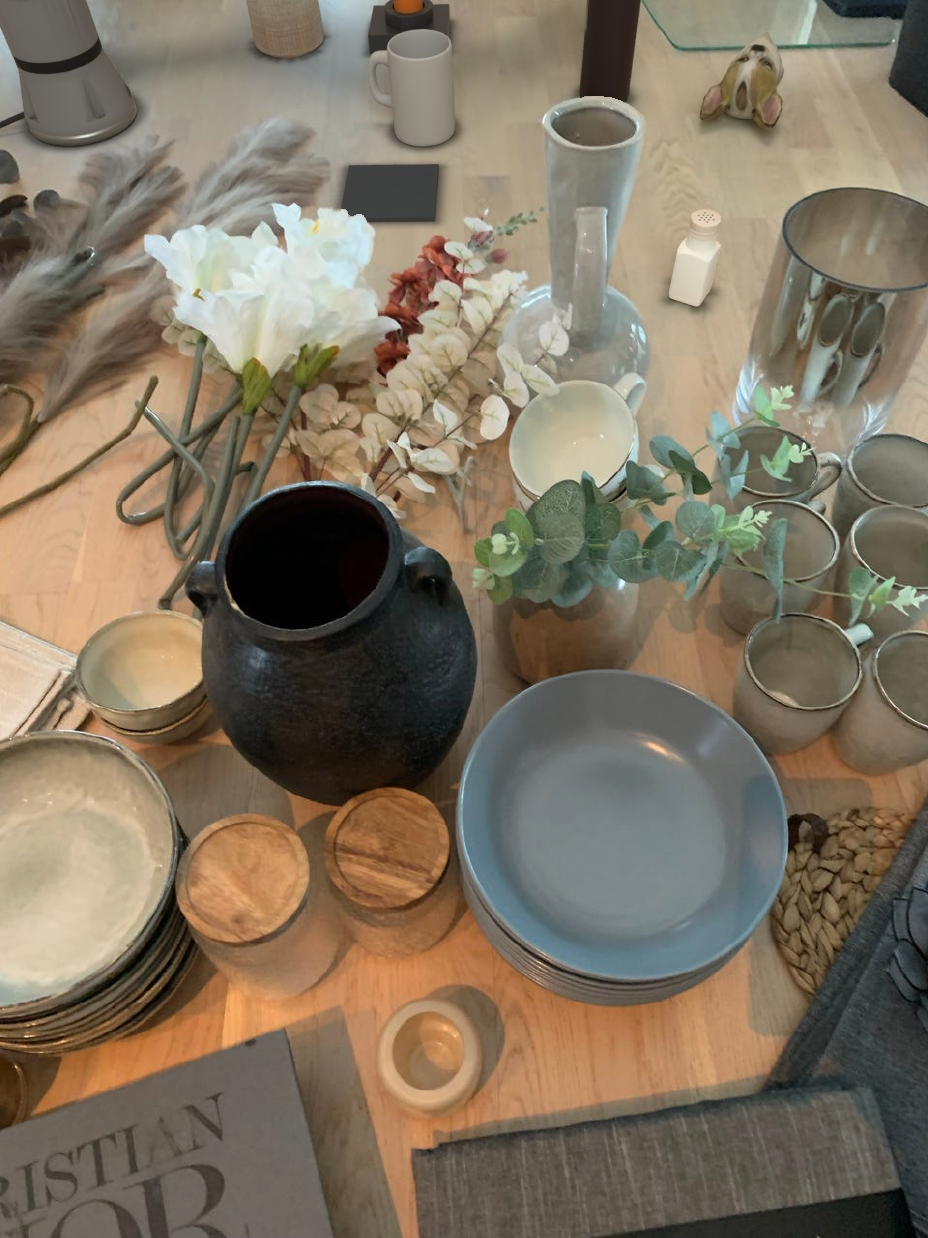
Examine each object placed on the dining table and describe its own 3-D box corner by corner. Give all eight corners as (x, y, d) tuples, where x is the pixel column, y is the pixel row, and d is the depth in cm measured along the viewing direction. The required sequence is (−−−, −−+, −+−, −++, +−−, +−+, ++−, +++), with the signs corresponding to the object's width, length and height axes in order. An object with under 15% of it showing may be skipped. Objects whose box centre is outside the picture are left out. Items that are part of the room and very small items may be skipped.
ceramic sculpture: (810, 23, 115) (786, 84, 108) (792, 90, 122) (769, 150, 116) (730, 13, 117) (703, 71, 111) (718, 79, 125) (691, 137, 118)
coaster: (339, 221, 108) (339, 217, 108) (349, 169, 115) (348, 164, 114) (434, 220, 108) (434, 216, 108) (438, 168, 115) (438, 163, 114)
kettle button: (393, 15, 130) (392, -1, 129) (395, 2, 133) (394, -14, 131) (422, 14, 130) (421, -1, 128) (423, 1, 133) (422, -14, 131)
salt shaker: (665, 299, 98) (680, 221, 90) (679, 280, 100) (695, 202, 92) (698, 309, 97) (716, 232, 89) (712, 290, 99) (731, 212, 91)
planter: (261, 27, 138) (247, -44, 130) (328, 26, 138) (318, -45, 130) (249, 60, 132) (234, -12, 124) (319, 59, 132) (308, -13, 124)
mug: (463, 119, 121) (461, 32, 112) (443, 151, 117) (438, 63, 108) (385, 107, 124) (376, 21, 114) (362, 137, 119) (351, 50, 110)
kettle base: (370, 54, 132) (366, 21, 129) (375, 24, 138) (372, -9, 134) (447, 52, 132) (446, 19, 128) (450, 22, 137) (448, -10, 134)
